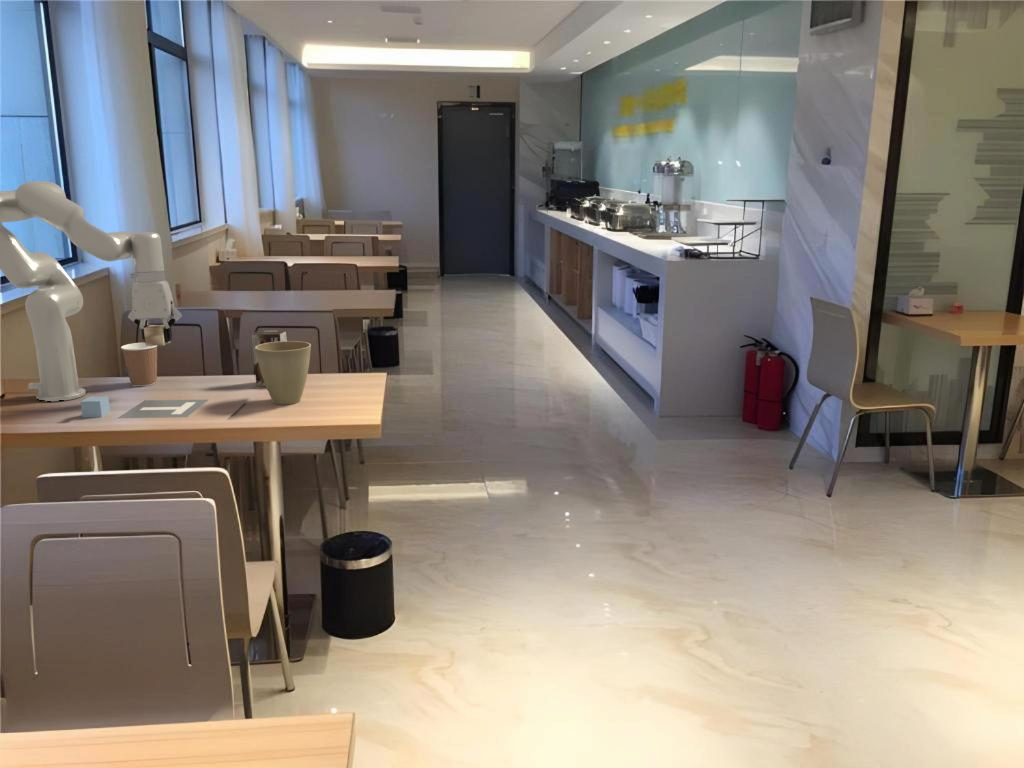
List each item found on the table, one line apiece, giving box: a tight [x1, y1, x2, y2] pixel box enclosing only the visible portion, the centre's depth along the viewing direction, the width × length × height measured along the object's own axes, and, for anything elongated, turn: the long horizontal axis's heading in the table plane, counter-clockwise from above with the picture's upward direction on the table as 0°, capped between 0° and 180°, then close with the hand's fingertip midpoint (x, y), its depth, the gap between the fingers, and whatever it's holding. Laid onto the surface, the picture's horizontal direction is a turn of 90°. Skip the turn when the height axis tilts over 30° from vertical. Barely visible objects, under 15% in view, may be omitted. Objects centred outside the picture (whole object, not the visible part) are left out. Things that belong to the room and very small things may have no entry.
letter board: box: [117, 399, 210, 419], centre depth 225 cm, size 18×18×1 cm
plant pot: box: [255, 340, 312, 406], centre depth 232 cm, size 15×15×16 cm
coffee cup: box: [120, 342, 158, 387], centre depth 253 cm, size 10×10×12 cm
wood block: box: [144, 324, 170, 347], centre depth 235 cm, size 5×5×5 cm
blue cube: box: [80, 395, 111, 418], centre depth 219 cm, size 5×5×5 cm
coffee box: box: [251, 329, 289, 387], centre depth 252 cm, size 9×6×16 cm
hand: (157, 341), depth 236 cm, fingers closed on wood block, 4 cm apart
